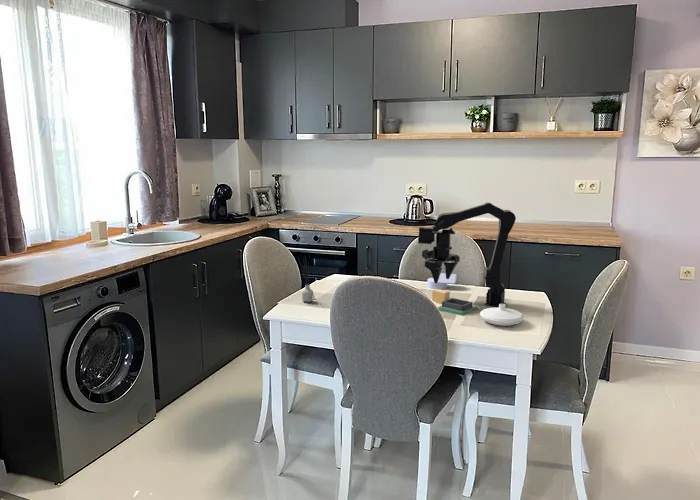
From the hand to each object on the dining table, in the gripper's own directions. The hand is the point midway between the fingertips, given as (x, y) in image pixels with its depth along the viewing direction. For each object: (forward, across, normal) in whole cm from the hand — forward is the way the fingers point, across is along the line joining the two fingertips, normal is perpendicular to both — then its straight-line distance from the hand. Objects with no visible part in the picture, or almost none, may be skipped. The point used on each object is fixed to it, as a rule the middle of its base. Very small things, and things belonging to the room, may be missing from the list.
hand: (441, 281), depth 231 cm
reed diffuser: (+9, +36, -44) cm, 58 cm away
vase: (+10, +8, +31) cm, 33 cm away
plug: (+9, 0, 0) cm, 9 cm away
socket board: (+9, +4, +10) cm, 14 cm away
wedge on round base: (+10, -22, -13) cm, 27 cm away
